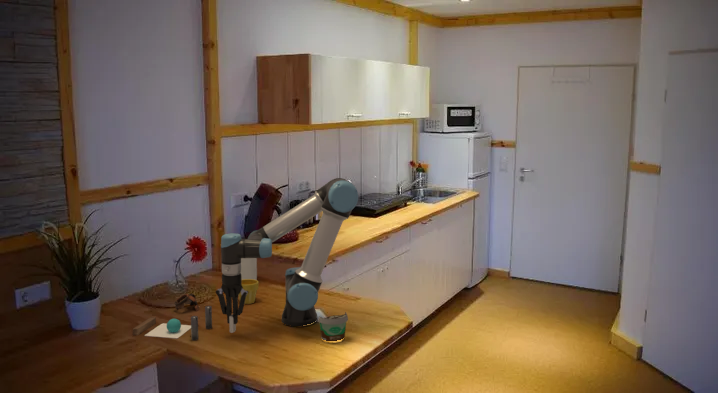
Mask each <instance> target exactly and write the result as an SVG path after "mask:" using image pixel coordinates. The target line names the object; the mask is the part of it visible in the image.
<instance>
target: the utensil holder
mask: <svg viewBox="0 0 718 393" xmlns="http://www.w3.org/2000/svg"><path fill="white" fill-rule="evenodd" d="M257 263H258V258H241V277H242V280H243V279H254V280H257V278H258V264H257ZM257 281H258V280H257Z"/></svg>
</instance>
